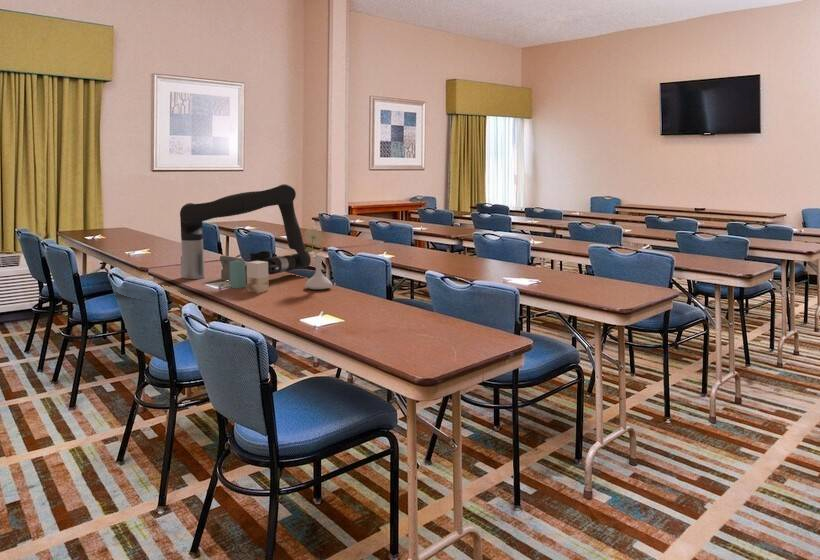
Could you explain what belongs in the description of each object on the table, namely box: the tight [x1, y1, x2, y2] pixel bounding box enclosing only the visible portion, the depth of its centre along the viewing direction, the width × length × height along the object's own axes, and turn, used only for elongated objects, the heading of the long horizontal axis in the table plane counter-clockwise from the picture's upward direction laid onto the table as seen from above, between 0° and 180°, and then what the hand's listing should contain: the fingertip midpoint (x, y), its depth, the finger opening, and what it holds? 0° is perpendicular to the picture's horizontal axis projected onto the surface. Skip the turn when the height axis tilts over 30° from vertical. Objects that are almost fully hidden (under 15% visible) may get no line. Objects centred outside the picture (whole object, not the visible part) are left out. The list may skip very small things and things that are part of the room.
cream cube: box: [245, 261, 269, 278], centre depth 264 cm, size 6×6×6 cm
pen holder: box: [249, 250, 271, 262], centre depth 309 cm, size 9×9×10 cm
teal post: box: [229, 260, 247, 289], centre depth 273 cm, size 4×4×11 cm
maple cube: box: [246, 276, 270, 294], centre depth 265 cm, size 6×6×6 cm
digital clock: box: [219, 255, 247, 282], centre depth 290 cm, size 16×9×11 cm, turn 39°
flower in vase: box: [303, 228, 333, 290], centre depth 271 cm, size 13×11×25 cm
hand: (250, 269), depth 279 cm, fingers open, 8 cm apart
